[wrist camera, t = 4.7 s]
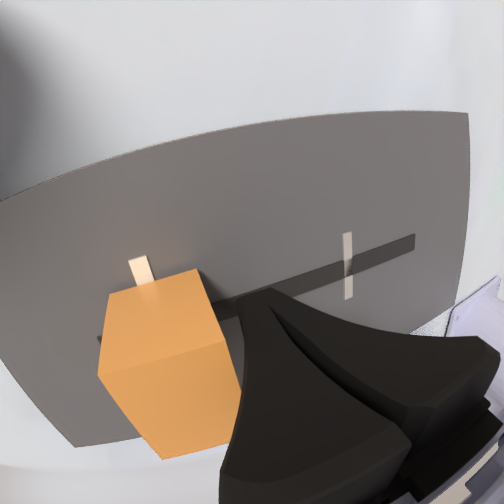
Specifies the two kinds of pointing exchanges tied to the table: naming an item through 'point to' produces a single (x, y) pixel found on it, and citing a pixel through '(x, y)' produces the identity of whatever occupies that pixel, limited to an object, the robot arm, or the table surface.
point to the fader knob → (170, 365)
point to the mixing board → (232, 240)
